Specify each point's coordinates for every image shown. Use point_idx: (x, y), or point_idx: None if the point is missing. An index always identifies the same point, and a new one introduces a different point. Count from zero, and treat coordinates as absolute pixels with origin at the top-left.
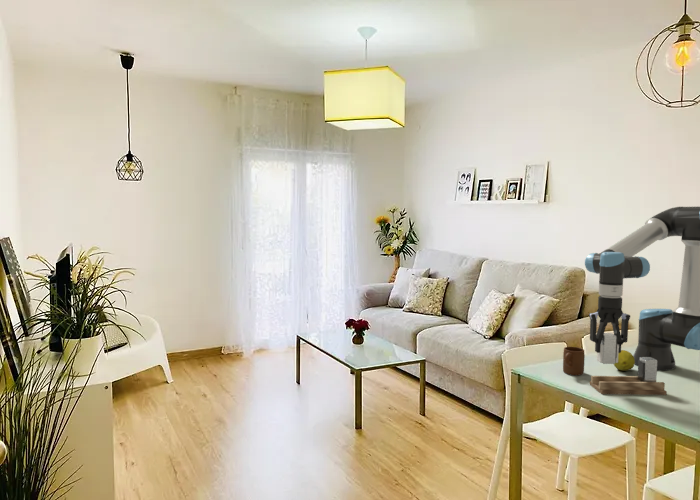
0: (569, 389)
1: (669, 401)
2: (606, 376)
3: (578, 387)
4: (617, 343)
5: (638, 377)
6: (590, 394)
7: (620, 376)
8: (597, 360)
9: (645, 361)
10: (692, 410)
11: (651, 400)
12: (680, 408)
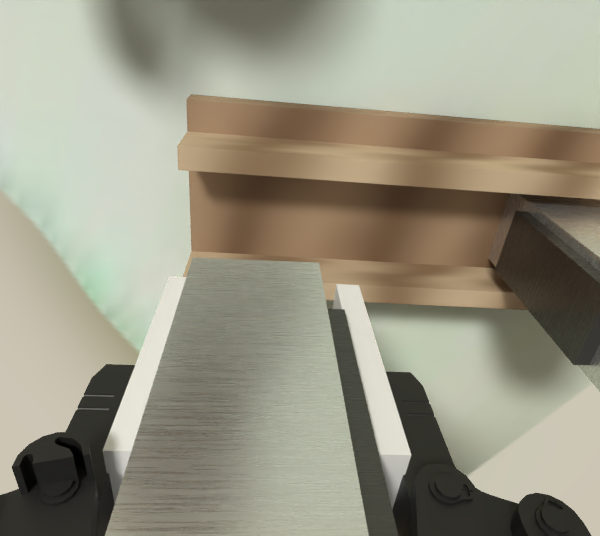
0: (10, 192)
1: (492, 369)
2: (299, 170)
3: (85, 155)
4: (395, 512)
5: (520, 228)
6: (128, 278)
7: (414, 176)
8: (170, 283)
9: (594, 383)
10: (498, 446)
11: (415, 358)
12: (468, 431)
